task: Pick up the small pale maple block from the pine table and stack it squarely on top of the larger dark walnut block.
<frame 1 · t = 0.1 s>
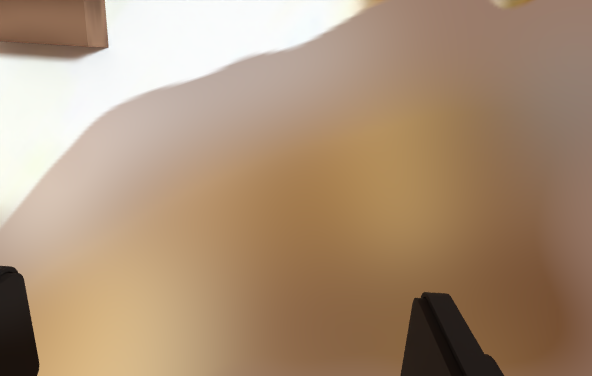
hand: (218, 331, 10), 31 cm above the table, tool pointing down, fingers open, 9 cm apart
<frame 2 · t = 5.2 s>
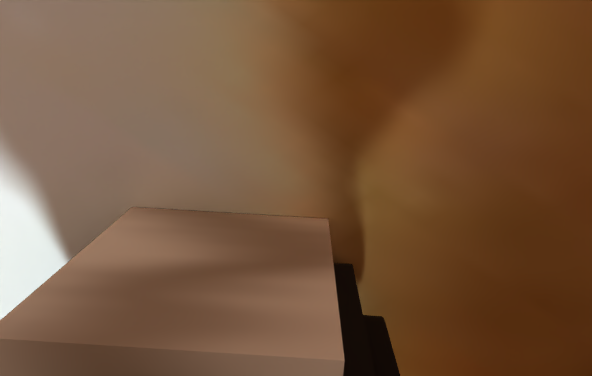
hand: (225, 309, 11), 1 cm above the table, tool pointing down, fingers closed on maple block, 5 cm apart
maple block: (229, 297, 11), on the table, touching gripper
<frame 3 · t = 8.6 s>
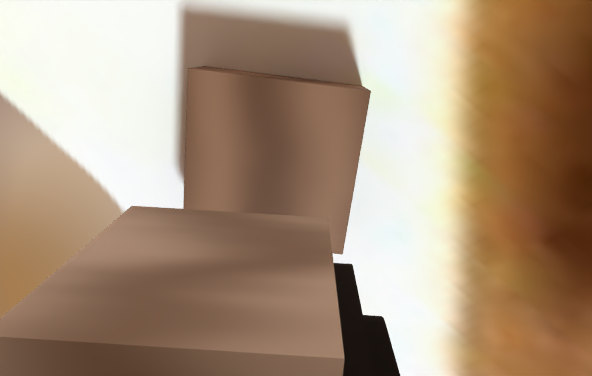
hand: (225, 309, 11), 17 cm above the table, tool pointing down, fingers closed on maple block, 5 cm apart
maple block: (229, 296, 11), point 17 cm above the table, touching gripper
walnut block: (275, 151, 27), on the table
when the fingers open (5 cm above the table, at t = 12.0 s): maple block drops 1 cm, resting on walnut block.
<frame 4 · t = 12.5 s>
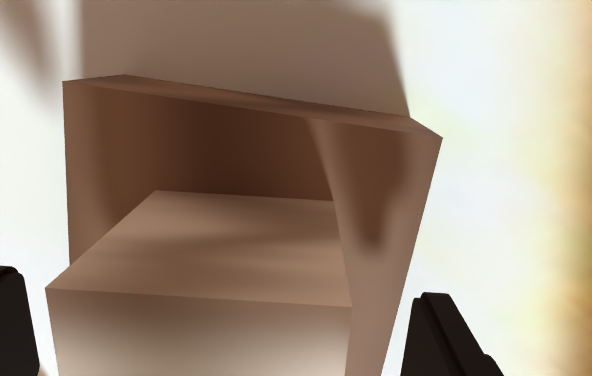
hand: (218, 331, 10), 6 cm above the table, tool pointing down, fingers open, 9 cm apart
maple block: (243, 274, 12), point 4 cm above the table, touching walnut block
walnut block: (253, 223, 16), on the table, touching maple block
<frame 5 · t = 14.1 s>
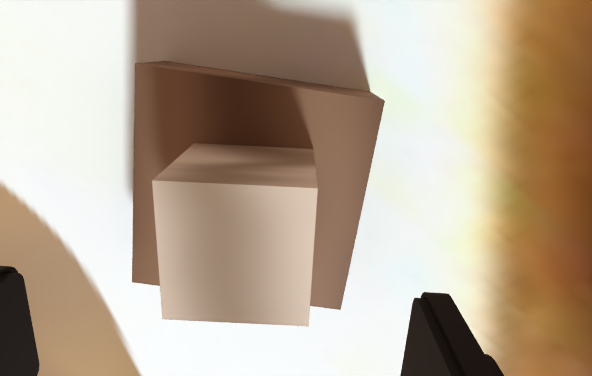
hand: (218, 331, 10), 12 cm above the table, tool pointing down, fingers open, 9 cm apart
maple block: (253, 201, 18), point 4 cm above the table, touching walnut block
walnut block: (257, 172, 21), on the table, touching maple block
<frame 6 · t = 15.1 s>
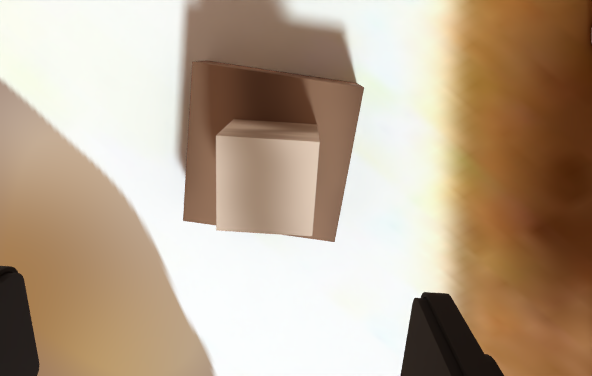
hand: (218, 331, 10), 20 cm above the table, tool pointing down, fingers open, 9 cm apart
maple block: (273, 162, 25), point 4 cm above the table, touching walnut block
walnut block: (273, 144, 29), on the table, touching maple block
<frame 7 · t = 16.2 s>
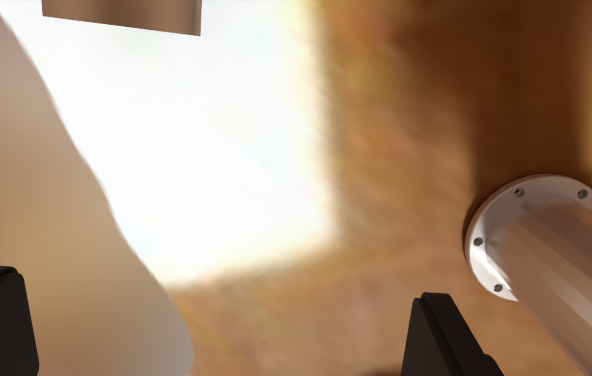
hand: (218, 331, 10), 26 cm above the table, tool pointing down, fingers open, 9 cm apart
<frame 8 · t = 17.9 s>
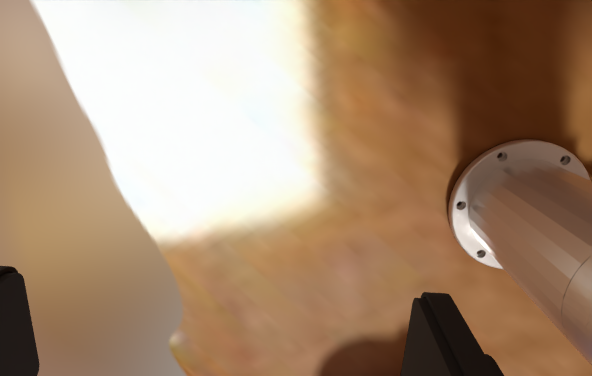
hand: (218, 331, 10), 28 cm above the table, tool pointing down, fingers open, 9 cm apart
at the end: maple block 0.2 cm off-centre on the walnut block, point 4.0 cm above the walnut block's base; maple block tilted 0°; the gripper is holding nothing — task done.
